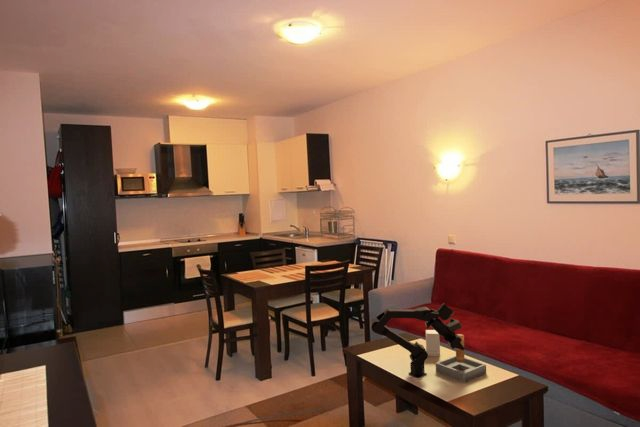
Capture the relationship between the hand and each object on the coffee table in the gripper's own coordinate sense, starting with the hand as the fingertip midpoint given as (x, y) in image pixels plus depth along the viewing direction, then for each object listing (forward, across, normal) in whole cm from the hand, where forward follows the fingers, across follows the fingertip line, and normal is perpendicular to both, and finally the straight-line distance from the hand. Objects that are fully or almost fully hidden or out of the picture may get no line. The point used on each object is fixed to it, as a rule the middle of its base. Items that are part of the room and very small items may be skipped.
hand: (462, 348), depth 216 cm
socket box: (+8, 0, +10) cm, 13 cm away
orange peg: (+4, 0, +6) cm, 7 cm away
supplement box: (+3, +27, +15) cm, 31 cm away
